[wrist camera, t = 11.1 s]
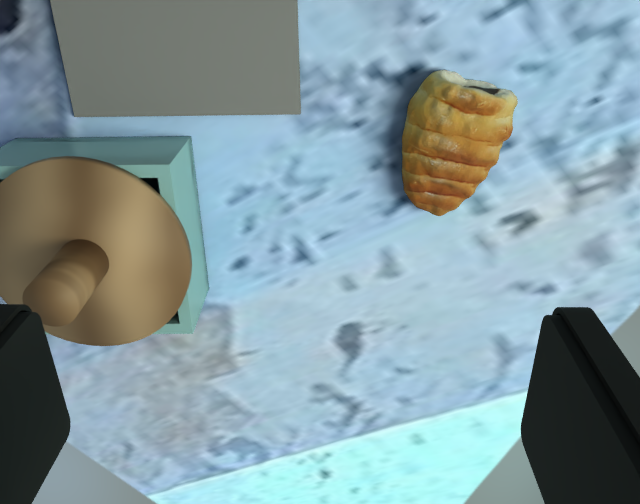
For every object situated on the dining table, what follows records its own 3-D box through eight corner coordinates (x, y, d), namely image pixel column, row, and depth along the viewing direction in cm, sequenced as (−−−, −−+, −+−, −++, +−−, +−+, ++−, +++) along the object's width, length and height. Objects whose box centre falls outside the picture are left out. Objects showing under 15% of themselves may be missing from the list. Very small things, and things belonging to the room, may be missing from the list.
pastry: (469, 214, 42) (481, 236, 38) (379, 194, 41) (383, 215, 38) (517, 85, 38) (535, 97, 34) (417, 61, 37) (426, 72, 34)
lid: (177, 154, 34) (150, 189, 28) (203, 337, 39) (184, 395, 34) (-44, 158, 34) (-110, 194, 29) (15, 339, 40) (-32, 397, 35)
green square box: (190, 136, 39) (169, 164, 34) (209, 288, 45) (193, 333, 39) (16, 138, 39) (-34, 166, 34) (55, 289, 45) (18, 334, 40)
